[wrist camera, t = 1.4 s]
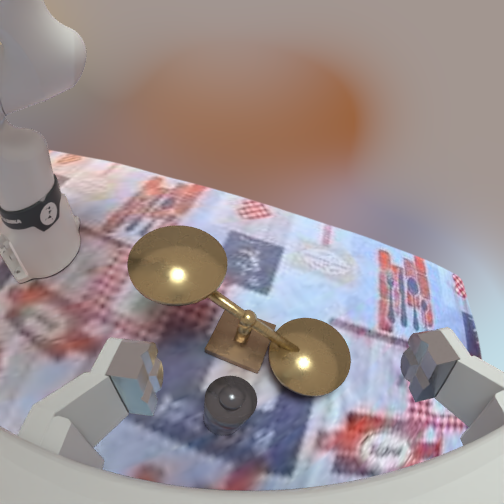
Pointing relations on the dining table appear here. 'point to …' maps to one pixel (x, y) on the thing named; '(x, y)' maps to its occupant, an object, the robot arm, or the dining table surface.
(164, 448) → the dining table surface
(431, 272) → the dining table surface
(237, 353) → the balance
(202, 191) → the dining table surface
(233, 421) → the iron weight
